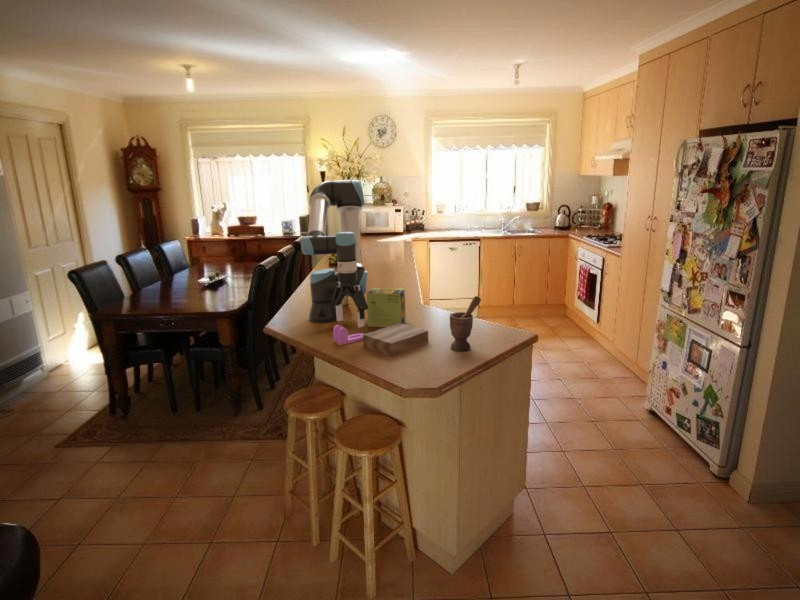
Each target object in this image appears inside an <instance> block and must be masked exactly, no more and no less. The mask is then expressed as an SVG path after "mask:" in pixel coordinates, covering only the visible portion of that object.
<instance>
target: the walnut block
mask: <svg viewBox="0 0 800 600" xmlns="http://www.w3.org/2000/svg"><path fill="white" fill-rule="evenodd" d="M363 334H364V335H363V340H362V342H363V348H365V349H368V350H371V351H374V352H376V353H377V352H378V353H381V354H384V355H385V356H389V357H395V356H398V355H400V354H403V353H405V352H408V351H410V350H413V349H416V348H418V347H421V346H424V345H427V344H428V343H429V330H428V329H423V328H419V327H416V326H412V325H408V324H405V323H404V324H401V323H398V324H395V325H392V326H389V327H381V328H380V329H377V330H374V331H370V332H367V333H363ZM423 344H424V345H423Z"/></svg>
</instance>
